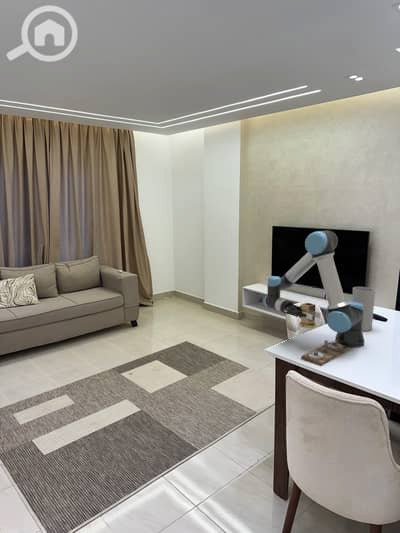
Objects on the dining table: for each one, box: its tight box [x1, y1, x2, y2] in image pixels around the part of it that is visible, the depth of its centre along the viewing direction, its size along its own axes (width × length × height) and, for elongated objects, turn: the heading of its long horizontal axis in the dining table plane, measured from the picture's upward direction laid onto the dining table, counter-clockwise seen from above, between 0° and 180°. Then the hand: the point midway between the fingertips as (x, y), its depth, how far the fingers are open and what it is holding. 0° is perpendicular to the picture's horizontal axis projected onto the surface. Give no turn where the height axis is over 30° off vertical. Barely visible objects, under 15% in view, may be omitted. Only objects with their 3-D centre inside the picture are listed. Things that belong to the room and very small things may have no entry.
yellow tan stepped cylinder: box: [298, 302, 317, 329], centre depth 199 cm, size 9×9×12 cm
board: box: [300, 339, 349, 367], centre depth 190 cm, size 28×11×8 cm, turn 133°
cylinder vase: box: [351, 286, 376, 332], centre depth 229 cm, size 12×12×25 cm
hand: (315, 316), depth 194 cm, fingers closed on yellow tan stepped cylinder, 5 cm apart
